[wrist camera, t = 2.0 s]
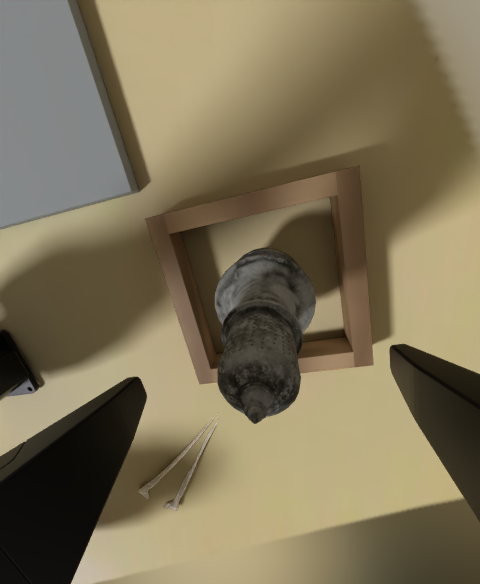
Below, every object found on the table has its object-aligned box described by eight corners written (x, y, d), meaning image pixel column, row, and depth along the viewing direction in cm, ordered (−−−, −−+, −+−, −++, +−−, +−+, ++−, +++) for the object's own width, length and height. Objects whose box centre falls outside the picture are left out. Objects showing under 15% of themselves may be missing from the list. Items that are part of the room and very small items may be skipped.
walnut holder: (206, 368, 21) (199, 384, 19) (158, 216, 17) (145, 218, 16) (363, 348, 19) (373, 365, 17) (348, 169, 15) (359, 165, 13)
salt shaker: (245, 229, 17) (193, 285, 6) (323, 266, 17) (420, 390, 6) (212, 301, 19) (127, 446, 8) (283, 334, 19) (298, 520, 8)
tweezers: (177, 503, 29) (171, 523, 27) (140, 484, 28) (131, 503, 26) (257, 394, 24) (256, 410, 22) (213, 370, 23) (208, 383, 21)
